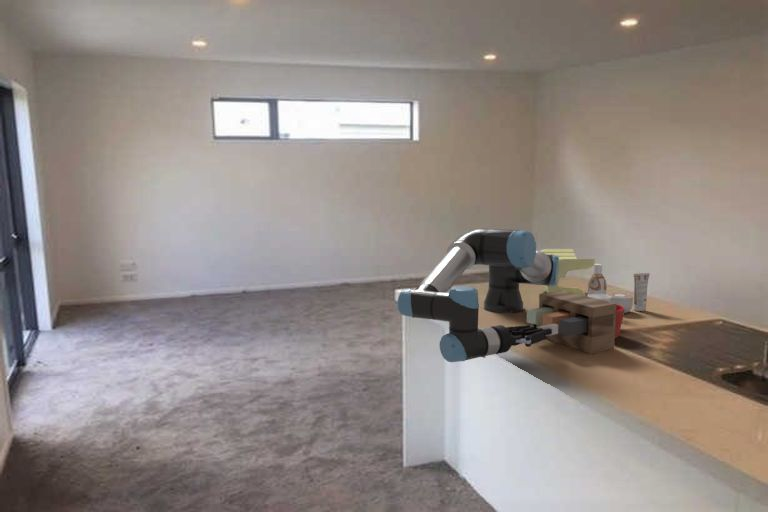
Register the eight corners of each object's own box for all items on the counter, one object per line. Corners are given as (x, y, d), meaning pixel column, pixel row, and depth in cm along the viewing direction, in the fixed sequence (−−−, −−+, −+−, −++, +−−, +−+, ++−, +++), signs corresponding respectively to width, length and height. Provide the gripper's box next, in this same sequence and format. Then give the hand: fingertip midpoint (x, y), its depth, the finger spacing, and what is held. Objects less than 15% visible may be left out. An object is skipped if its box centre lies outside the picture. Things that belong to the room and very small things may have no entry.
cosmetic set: (639, 307, 230) (642, 260, 227) (655, 313, 221) (658, 263, 218) (581, 311, 225) (583, 262, 222) (594, 317, 216) (597, 266, 213)
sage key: (526, 322, 187) (527, 309, 187) (549, 317, 192) (550, 305, 192) (535, 324, 184) (535, 312, 183) (559, 320, 189) (559, 308, 188)
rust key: (542, 327, 181) (542, 314, 181) (566, 322, 186) (566, 310, 185) (551, 330, 178) (552, 317, 177) (575, 325, 183) (576, 313, 182)
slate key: (559, 332, 175) (559, 319, 175) (583, 327, 180) (583, 315, 179) (569, 335, 172) (570, 322, 171) (593, 331, 177) (594, 318, 176)
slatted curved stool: (536, 287, 269) (537, 248, 266) (571, 287, 269) (572, 248, 266) (553, 302, 240) (554, 259, 237) (592, 302, 239) (594, 259, 236)
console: (538, 335, 193) (539, 293, 191) (560, 331, 198) (561, 290, 196) (590, 353, 174) (593, 307, 172) (614, 348, 179) (616, 303, 177)
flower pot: (580, 333, 196) (582, 304, 194) (606, 329, 200) (607, 301, 198) (604, 341, 186) (605, 311, 184) (630, 337, 190) (632, 308, 189)
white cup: (611, 327, 202) (613, 299, 201) (587, 326, 204) (588, 298, 202) (607, 321, 210) (609, 294, 208) (584, 320, 211) (585, 293, 210)
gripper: (477, 347, 166) (539, 335, 178) (508, 360, 155) (572, 346, 166) (477, 321, 165) (540, 311, 177) (508, 332, 154) (573, 321, 165)
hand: (556, 328), depth 172 cm, fingers closed
